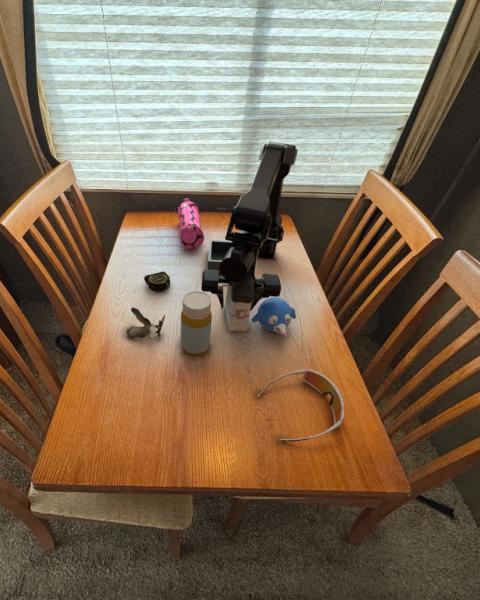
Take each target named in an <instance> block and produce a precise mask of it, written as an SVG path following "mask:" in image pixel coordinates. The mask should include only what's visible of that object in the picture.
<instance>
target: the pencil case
mask: <svg viewBox="0 0 480 600" xmlns="http://www.w3.org/2000/svg"><path fill="white" fill-rule="evenodd" d="M182 200H183V202H182V203H181V204H180V205H179V206H178V207H177V206H174V207H173V208H174V209H173V213H177V218H178V221H179V222H178V224H179V240H180V243H181V245H182V246H183V248H185V249H187V250H195V249H197V248H200V247H201V246H202V245H203V243H204V241H205V233H204V231H203V229H202V228H201V218H200V209H199V207H198V205H197V204H196V203H195V202H192V201H190V199H189V198H183V199H182Z"/></svg>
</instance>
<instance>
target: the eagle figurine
mask: <svg viewBox="0 0 480 600" xmlns="http://www.w3.org/2000/svg"><path fill="white" fill-rule="evenodd" d="M130 311H131V312H132V314H133V315H134V316H135V317H136V320H137V321H139V322H140V323H141V324H142V325H143V326H134V325H132V326H130V327H129V328H127V329H126V332H125V333H126V336H127V338H129V339H145V338H146V336H147V335H148V334H149V336H150V338H153V337H154V336H155V335H157V337H159V338H161V331H162V328H163V325H164V321H165V319H166V314H163V316H162V318H161V319H159V321H158V324H152V322H151V320H150V319H148V318H147V317H145V316H144V315H143V313H142V312H141V311H140V309H138V308H136V307H133V306H132V307H131V308H130Z"/></svg>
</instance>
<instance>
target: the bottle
mask: <svg viewBox="0 0 480 600" xmlns="http://www.w3.org/2000/svg"><path fill="white" fill-rule="evenodd" d="M211 309H212V298H211V296H210V295H209V294H208V292H204V291H202V290H192V291H189V292H187V293H186V294H184V296H183V298H182V311H181V312H180V346H181V349H182V350H183V352H185V353H186V354H189V355H192V356H199V355H203V354H204V353H206V352H207V351H208V350H209V348H210V344H211V333H212V321H213V320H212V318H213V314H212V311H211Z"/></svg>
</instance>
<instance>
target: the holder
mask: <svg viewBox="0 0 480 600" xmlns="http://www.w3.org/2000/svg"><path fill="white" fill-rule="evenodd" d="M231 245H232V241H228V240H219V239H216V240H215V239H209V241H208V257H207V270H219V276H222V274H221V273H220V268H219V267H220V264H221V262H222V260H223V259H224V257H225V256H226V254H227V252H228V251H229V249H230V248H231Z"/></svg>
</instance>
